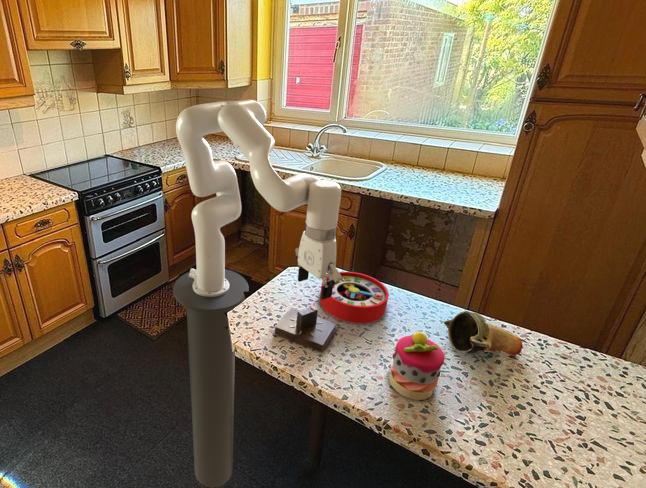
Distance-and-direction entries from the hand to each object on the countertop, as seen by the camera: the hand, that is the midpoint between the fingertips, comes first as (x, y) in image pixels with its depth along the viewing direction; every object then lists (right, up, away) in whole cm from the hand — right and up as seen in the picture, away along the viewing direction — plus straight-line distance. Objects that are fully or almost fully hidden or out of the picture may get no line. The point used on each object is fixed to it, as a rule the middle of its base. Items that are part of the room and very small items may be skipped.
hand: (314, 288), depth 107 cm
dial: (-1, -11, +6) cm, 12 cm away
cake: (+21, -22, -10) cm, 32 cm away
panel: (-1, -13, +7) cm, 15 cm away
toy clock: (+16, -7, +20) cm, 27 cm away
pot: (+43, -17, +1) cm, 46 cm away
